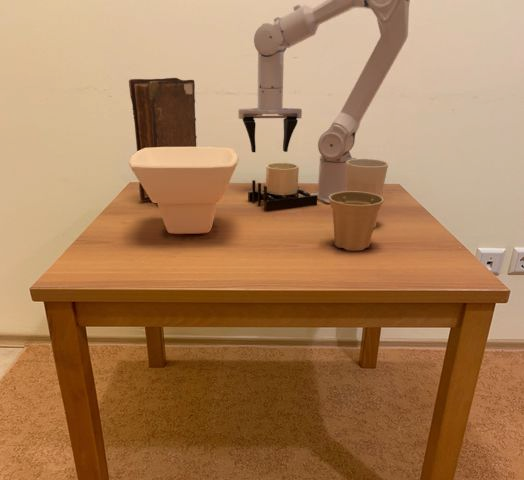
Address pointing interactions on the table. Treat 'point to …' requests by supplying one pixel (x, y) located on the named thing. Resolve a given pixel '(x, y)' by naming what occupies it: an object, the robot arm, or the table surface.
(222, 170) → the bowl
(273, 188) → the beige mug
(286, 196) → the rack
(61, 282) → the table surface
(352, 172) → the cup
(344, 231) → the flower pot
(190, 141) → the book
